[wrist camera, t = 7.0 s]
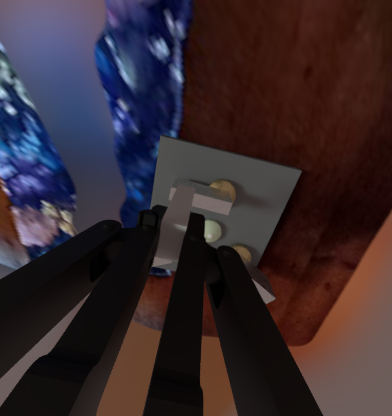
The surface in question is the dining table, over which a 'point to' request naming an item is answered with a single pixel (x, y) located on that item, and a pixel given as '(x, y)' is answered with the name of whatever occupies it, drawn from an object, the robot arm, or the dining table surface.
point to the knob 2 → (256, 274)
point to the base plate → (244, 186)
